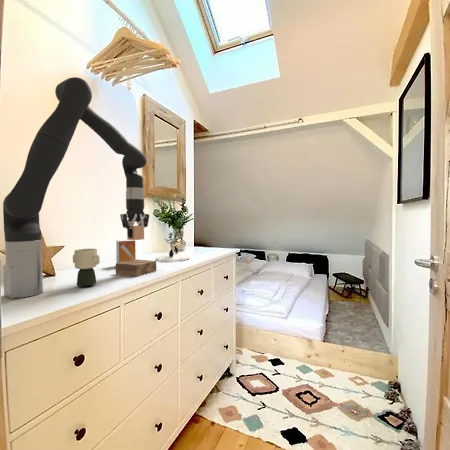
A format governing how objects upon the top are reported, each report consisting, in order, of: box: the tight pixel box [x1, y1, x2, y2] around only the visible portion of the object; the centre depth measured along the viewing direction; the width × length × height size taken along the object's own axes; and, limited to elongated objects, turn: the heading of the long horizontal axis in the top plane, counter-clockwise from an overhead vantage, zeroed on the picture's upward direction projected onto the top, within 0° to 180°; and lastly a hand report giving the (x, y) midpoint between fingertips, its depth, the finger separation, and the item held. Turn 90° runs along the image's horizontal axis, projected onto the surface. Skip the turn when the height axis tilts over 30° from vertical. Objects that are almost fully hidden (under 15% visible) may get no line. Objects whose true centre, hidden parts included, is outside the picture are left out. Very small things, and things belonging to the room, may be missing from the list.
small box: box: [115, 239, 137, 263], centre depth 132 cm, size 8×6×13 cm
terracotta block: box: [126, 225, 145, 241], centre depth 115 cm, size 5×5×6 cm
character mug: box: [72, 248, 101, 288], centre depth 93 cm, size 11×7×13 cm, turn 77°
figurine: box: [154, 232, 190, 263], centre depth 150 cm, size 20×18×16 cm
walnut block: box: [115, 258, 157, 278], centre depth 115 cm, size 12×12×5 cm
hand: (135, 237), depth 115 cm, fingers closed on terracotta block, 5 cm apart
